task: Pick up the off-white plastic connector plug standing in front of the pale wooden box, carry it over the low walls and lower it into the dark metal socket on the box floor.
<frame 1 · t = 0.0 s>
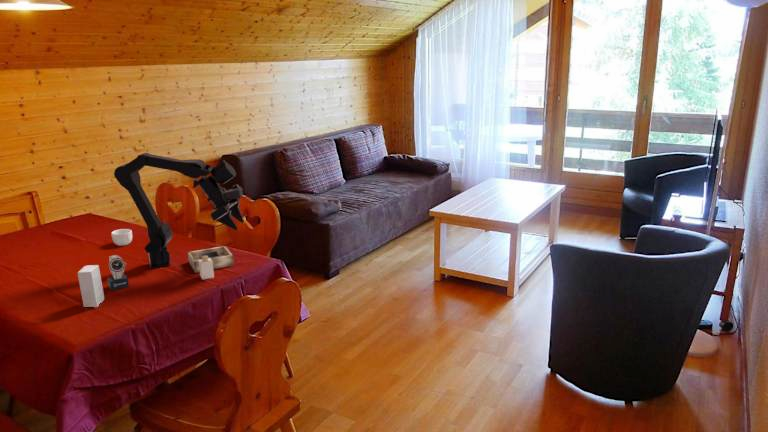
hand: (239, 225, 206), 15 cm above the table, tool tilted 35°, fingers open, 9 cm apart
skincare box: (94, 304, 178), on the table
watch: (119, 287, 191), on the table
connector plug: (207, 276, 199), on the table
teacup: (122, 243, 235), on the table
socket box: (211, 263, 211), on the table
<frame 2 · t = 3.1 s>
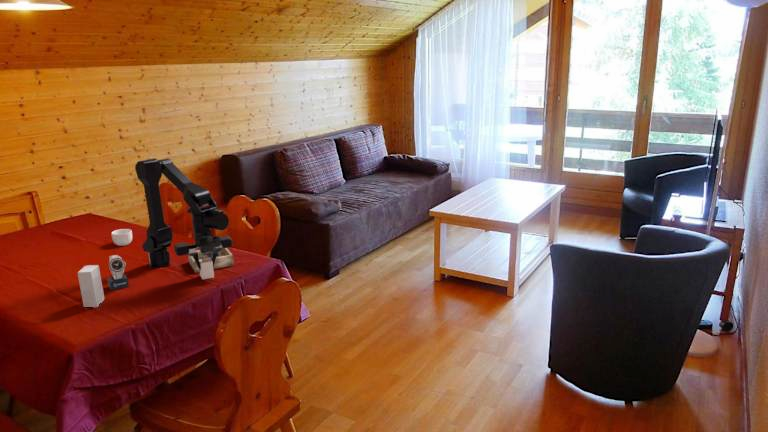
hand: (206, 268, 198), 3 cm above the table, tool pointing down, fingers closed on connector plug, 4 cm apart
connector plug: (207, 276, 199), on the table, touching gripper
everything else where it was.
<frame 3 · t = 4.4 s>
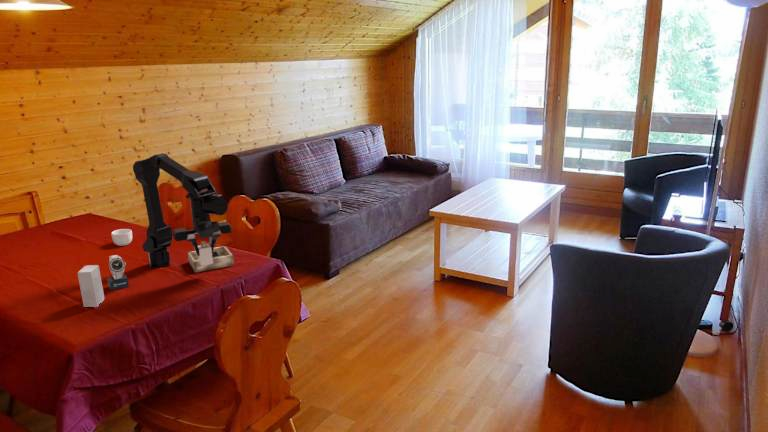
hand: (204, 254, 196), 8 cm above the table, tool pointing down, fingers closed on connector plug, 4 cm apart
connector plug: (205, 262, 197), point 5 cm above the table, touching gripper
everything else where it was.
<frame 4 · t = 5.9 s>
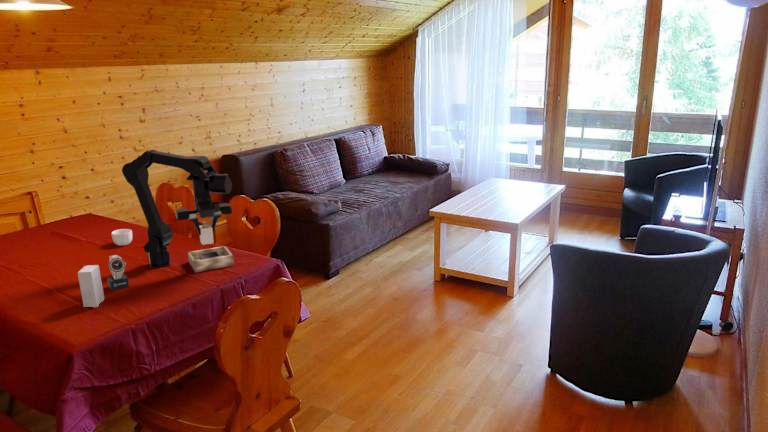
hand: (206, 234, 203), 13 cm above the table, tool pointing down, fingers closed on connector plug, 4 cm apart
connector plug: (207, 242, 204), point 10 cm above the table, touching gripper
everything else where it was.
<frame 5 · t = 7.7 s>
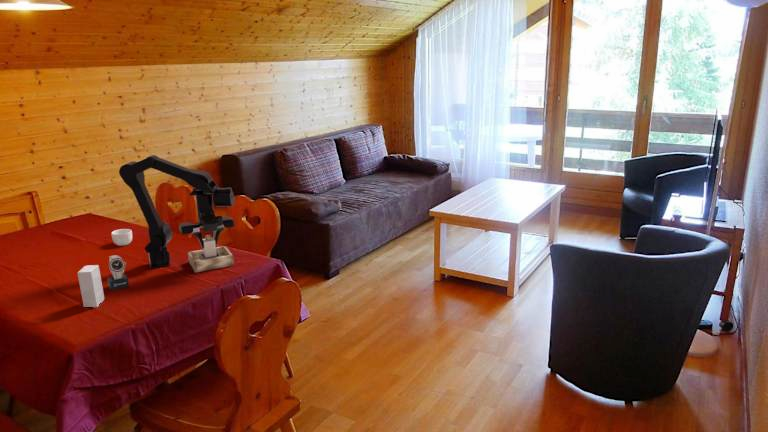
hand: (209, 247, 209), 7 cm above the table, tool pointing down, fingers closed on connector plug, 4 cm apart
connector plug: (210, 254, 210), point 4 cm above the table, touching gripper
everything else where it was.
when the fingers open (5 cm above the table, at t = 9.0 s): connector plug stays where it is, resting on socket box.
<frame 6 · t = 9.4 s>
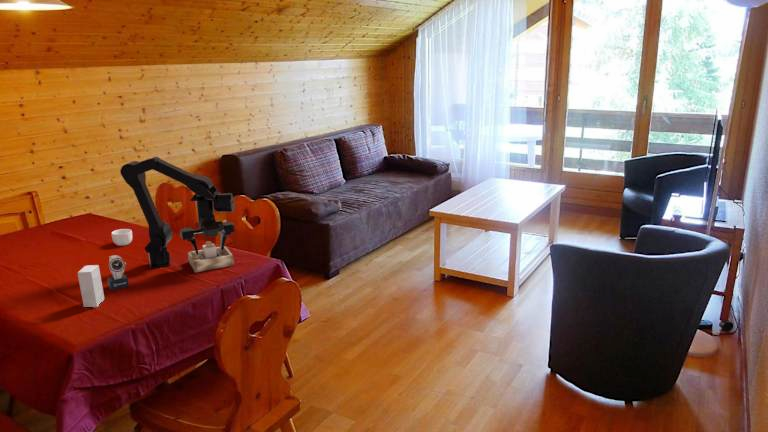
hand: (209, 252, 209), 5 cm above the table, tool pointing down, fingers open, 9 cm apart
connector plug: (210, 261, 210), point 1 cm above the table, touching socket box
everything else where it was.
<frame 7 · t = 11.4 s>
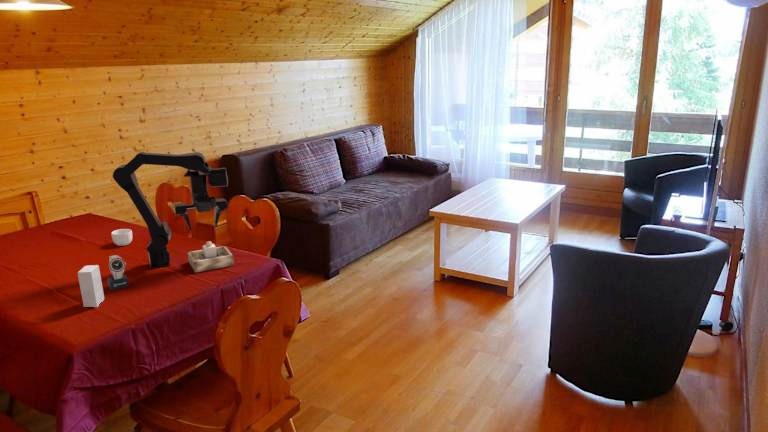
hand: (203, 228, 210), 13 cm above the table, tool pointing down, fingers open, 9 cm apart
nothing on the table moved.
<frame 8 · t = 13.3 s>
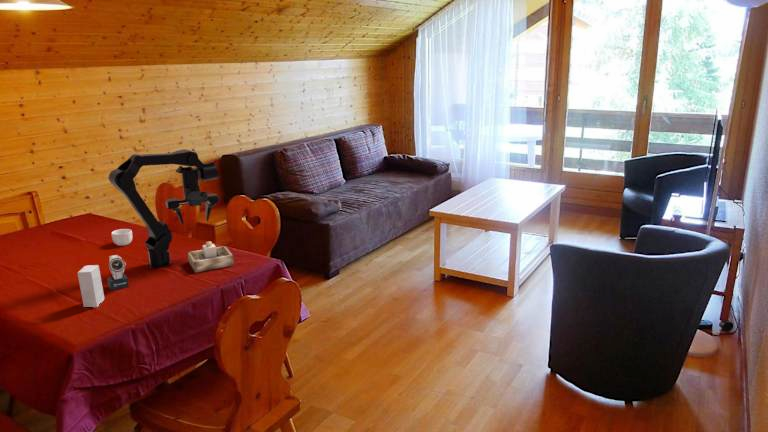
hand: (195, 222, 217), 13 cm above the table, tool pointing down, fingers open, 9 cm apart
nothing on the table moved.
at the end: connector plug 0.0 cm off-centre on the socket box, point 1.0 cm above the socket box's base; connector plug tilted 0°; the gripper is holding nothing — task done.
